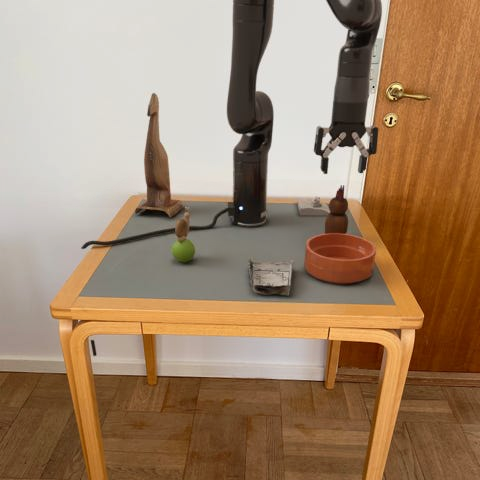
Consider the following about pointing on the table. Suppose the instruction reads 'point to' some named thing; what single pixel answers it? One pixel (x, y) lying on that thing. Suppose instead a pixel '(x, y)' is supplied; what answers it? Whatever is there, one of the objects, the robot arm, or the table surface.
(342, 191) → the wooden figurine
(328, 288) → the table surface
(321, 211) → the grey stone carving
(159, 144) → the bird sculpture
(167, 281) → the table surface
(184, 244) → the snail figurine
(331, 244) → the bowl
